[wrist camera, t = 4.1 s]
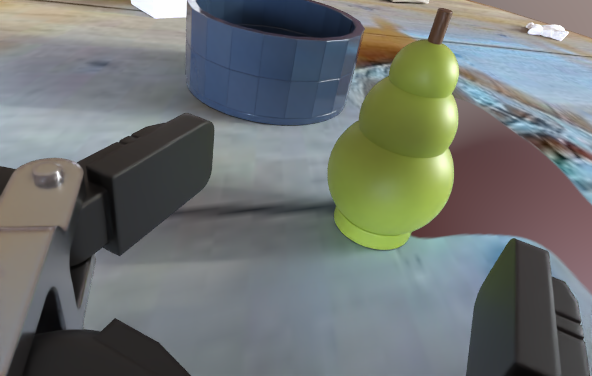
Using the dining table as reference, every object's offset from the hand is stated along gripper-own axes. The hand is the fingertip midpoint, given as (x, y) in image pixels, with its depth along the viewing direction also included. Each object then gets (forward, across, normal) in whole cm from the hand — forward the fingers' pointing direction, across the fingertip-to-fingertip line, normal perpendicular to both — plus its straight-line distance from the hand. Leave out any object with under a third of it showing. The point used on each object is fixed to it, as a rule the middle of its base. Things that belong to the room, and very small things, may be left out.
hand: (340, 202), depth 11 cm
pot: (+24, +13, +8) cm, 28 cm away
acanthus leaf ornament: (+87, -13, +8) cm, 89 cm away
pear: (+11, 0, +8) cm, 14 cm away
